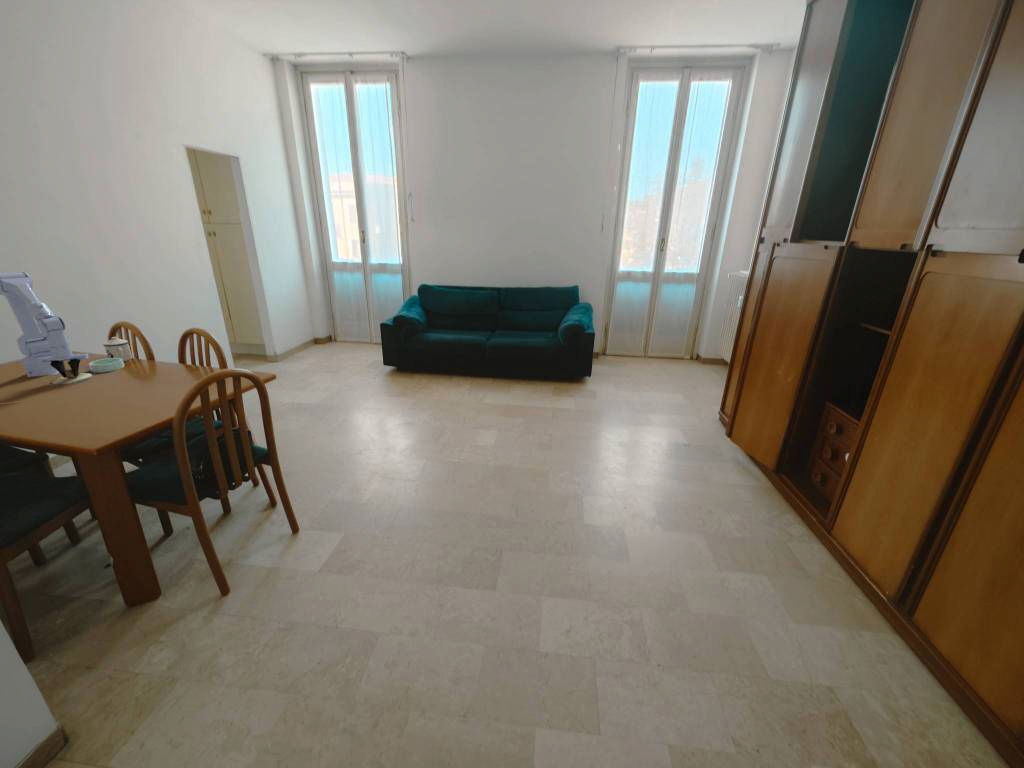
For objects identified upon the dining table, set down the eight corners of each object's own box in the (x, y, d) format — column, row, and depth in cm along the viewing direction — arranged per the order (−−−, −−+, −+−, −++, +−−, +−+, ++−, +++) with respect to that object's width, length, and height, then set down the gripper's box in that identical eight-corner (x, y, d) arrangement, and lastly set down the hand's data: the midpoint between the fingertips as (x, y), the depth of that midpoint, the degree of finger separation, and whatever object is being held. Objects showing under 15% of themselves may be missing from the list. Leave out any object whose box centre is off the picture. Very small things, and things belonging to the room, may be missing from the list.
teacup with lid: (107, 359, 200) (99, 337, 195) (131, 356, 206) (124, 334, 202) (112, 365, 193) (104, 341, 189) (137, 360, 199) (129, 338, 195)
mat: (46, 387, 165) (46, 386, 165) (60, 378, 175) (59, 377, 175) (86, 383, 170) (85, 382, 170) (97, 374, 180) (96, 373, 180)
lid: (46, 386, 165) (42, 376, 163) (59, 377, 175) (55, 367, 173) (85, 382, 170) (82, 372, 168) (96, 373, 180) (93, 364, 178)
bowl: (88, 374, 180) (84, 366, 178) (97, 367, 189) (94, 359, 187) (120, 371, 185) (117, 363, 183) (127, 364, 194) (125, 356, 192)
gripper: (29, 350, 160) (43, 381, 165) (78, 346, 167) (90, 377, 172) (38, 346, 166) (51, 376, 171) (85, 342, 173) (96, 372, 178)
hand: (71, 376), depth 172 cm, fingers closed on lid, 3 cm apart
